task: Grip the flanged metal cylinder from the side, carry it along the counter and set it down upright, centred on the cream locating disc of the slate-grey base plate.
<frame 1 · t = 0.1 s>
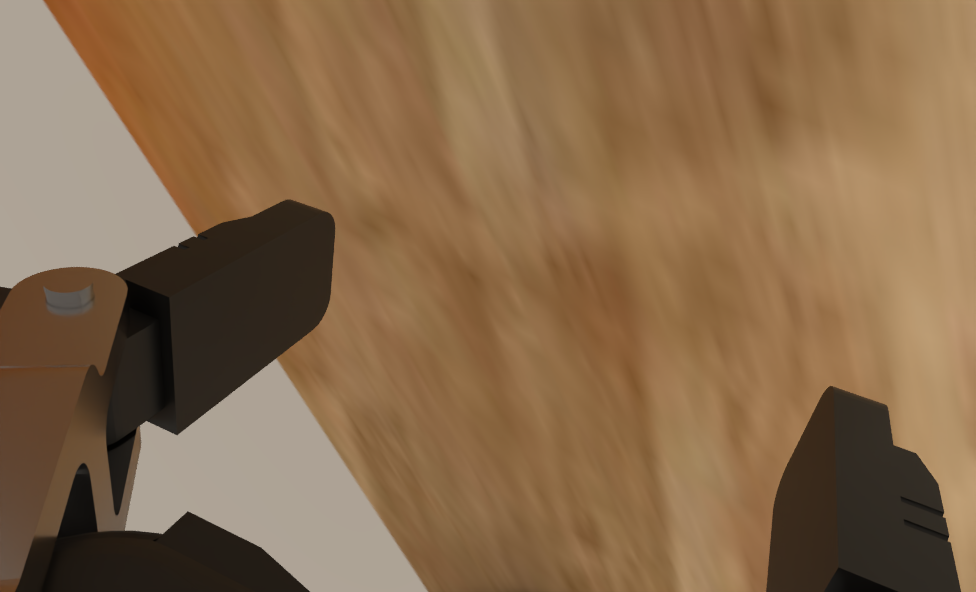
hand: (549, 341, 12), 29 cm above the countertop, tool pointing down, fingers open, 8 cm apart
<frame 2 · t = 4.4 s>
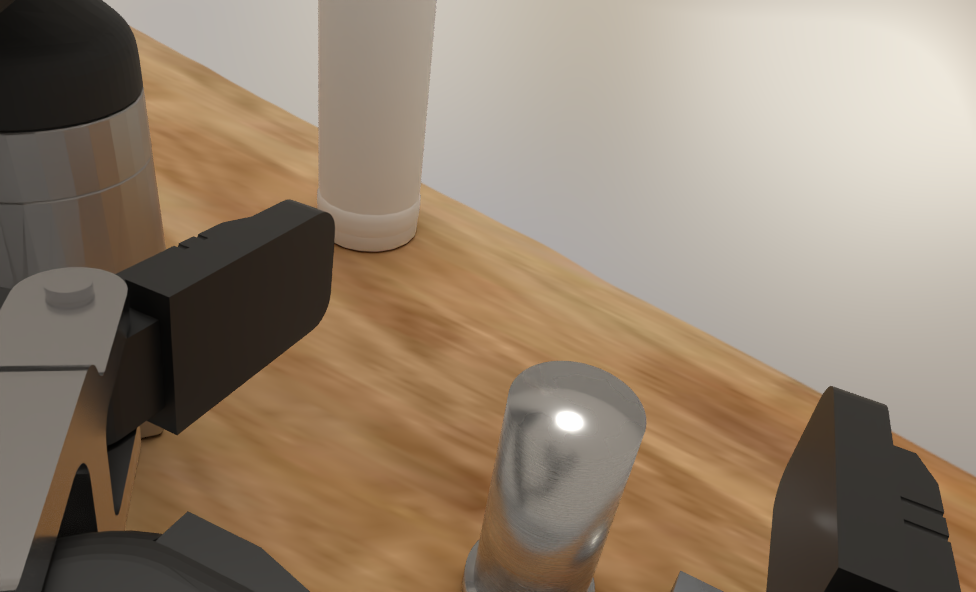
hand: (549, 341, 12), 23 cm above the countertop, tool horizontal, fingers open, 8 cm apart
bottle: (368, 229, 59), on the countertop
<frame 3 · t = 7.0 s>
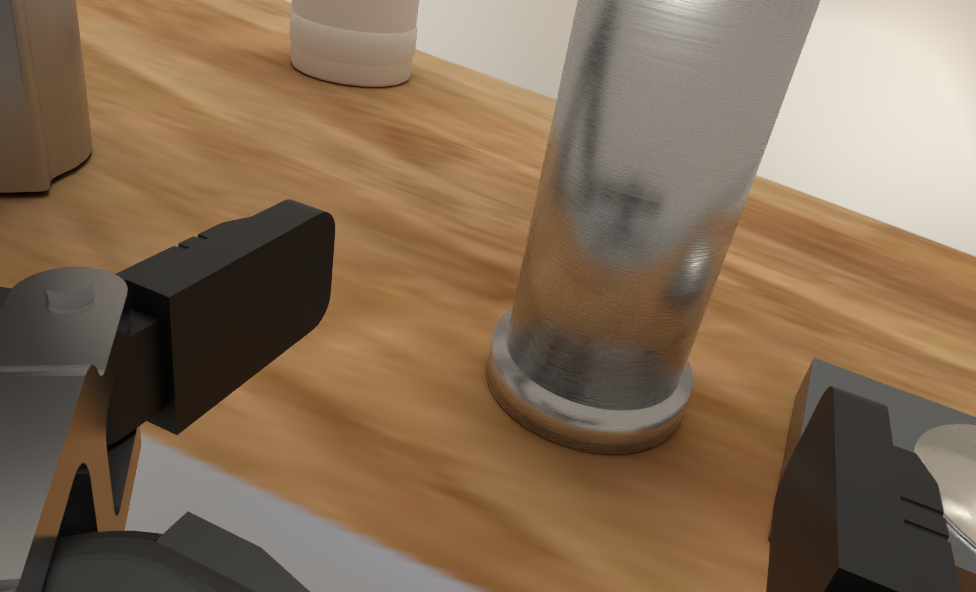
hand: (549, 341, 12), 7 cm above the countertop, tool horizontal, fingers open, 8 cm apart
flanged metal cylinder: (583, 385, 22), on the countertop
bottle: (351, 72, 48), on the countertop
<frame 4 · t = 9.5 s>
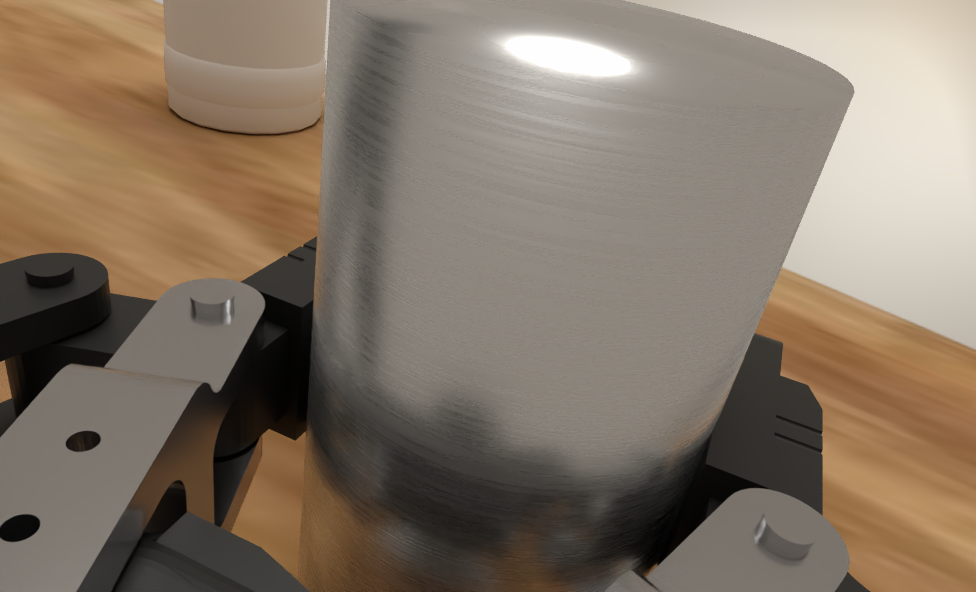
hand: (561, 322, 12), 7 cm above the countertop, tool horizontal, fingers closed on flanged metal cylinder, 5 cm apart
bottle: (246, 113, 40), on the countertop
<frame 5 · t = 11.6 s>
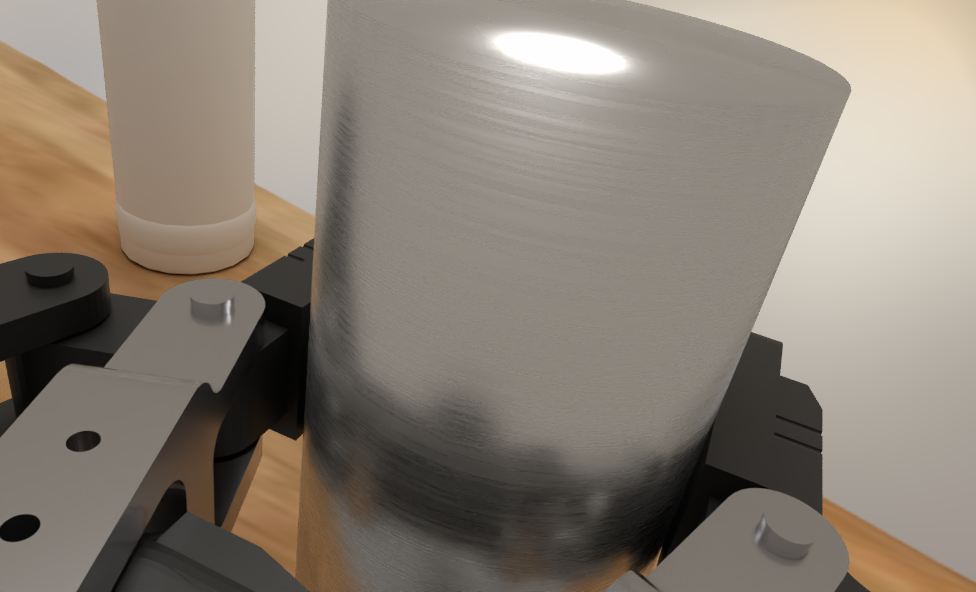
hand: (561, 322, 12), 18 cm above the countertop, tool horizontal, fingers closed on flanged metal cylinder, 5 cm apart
bottle: (189, 247, 47), on the countertop
when the fingers open (10 cm above the countertop, at t = 14.0 s): flanged metal cylinder drops 1 cm, resting on base plate.
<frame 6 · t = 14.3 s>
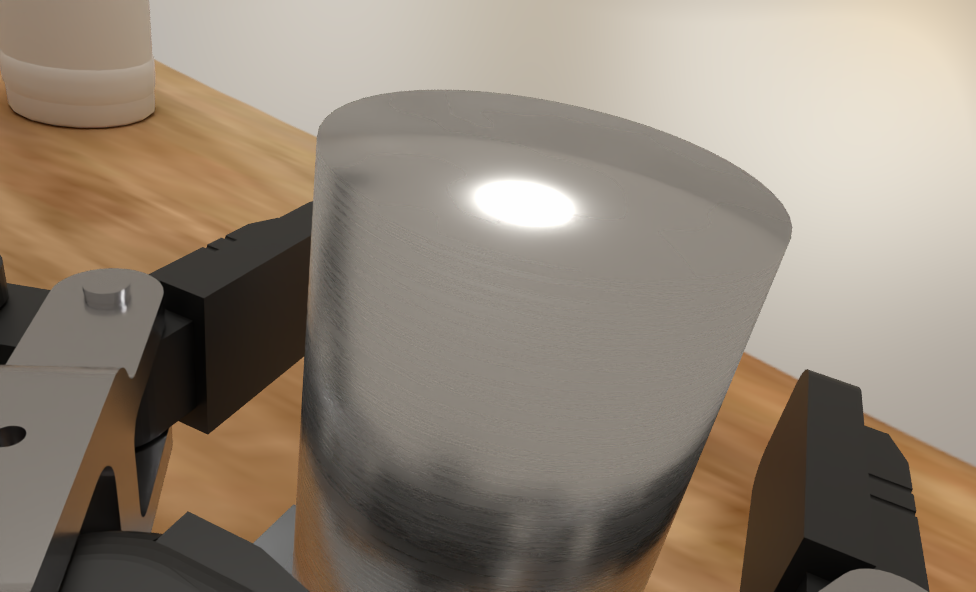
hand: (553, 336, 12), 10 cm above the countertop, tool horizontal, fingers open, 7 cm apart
bottle: (85, 110, 44), on the countertop
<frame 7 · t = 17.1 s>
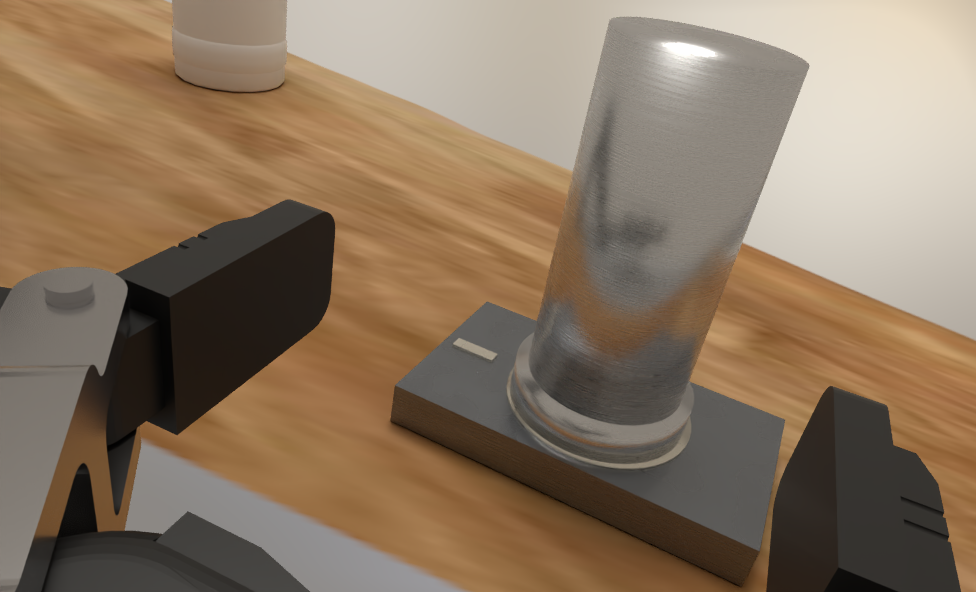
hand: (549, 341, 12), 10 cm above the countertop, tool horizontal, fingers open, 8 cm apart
base plate: (587, 436, 26), on the countertop
flanged metal cylinder: (596, 401, 25), point 2 cm above the countertop, touching base plate
bottle: (230, 79, 55), on the countertop
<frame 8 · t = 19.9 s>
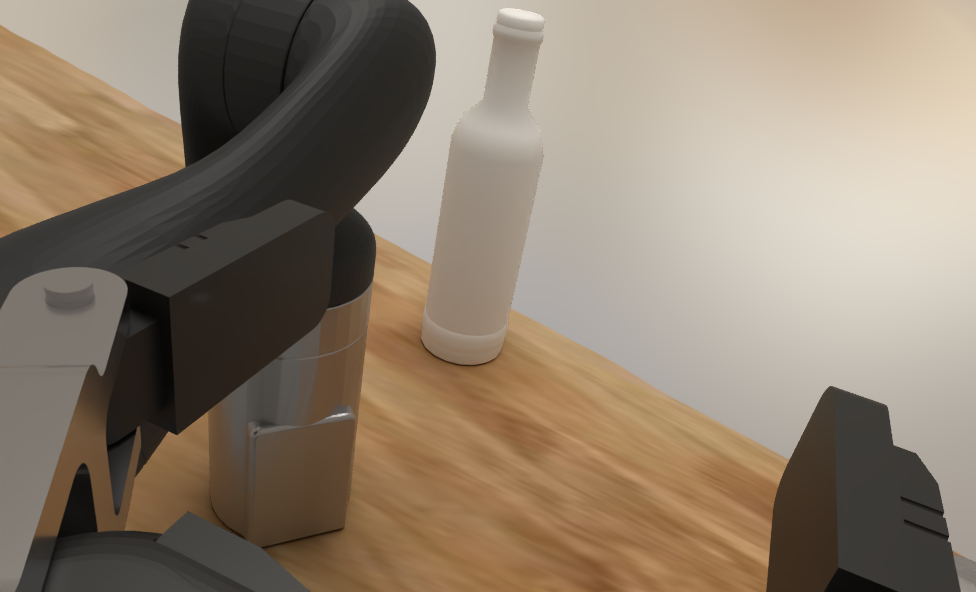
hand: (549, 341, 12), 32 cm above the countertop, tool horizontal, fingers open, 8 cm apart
bottle: (460, 343, 70), on the countertop
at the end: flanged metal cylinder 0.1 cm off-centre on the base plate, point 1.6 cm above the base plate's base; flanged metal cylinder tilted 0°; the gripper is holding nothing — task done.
